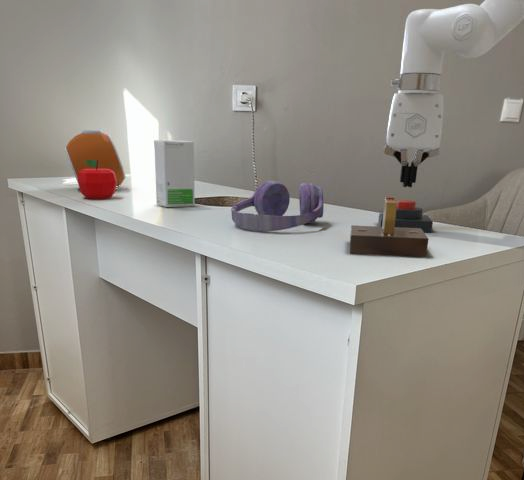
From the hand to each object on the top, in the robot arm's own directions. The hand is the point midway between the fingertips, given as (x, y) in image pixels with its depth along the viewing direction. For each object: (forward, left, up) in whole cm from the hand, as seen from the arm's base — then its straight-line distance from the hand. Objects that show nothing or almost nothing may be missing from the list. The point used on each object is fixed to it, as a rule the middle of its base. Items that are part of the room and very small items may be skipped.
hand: (407, 186), depth 112 cm
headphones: (+26, +3, -9) cm, 27 cm away
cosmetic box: (+55, -21, -9) cm, 59 cm away
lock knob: (+5, +24, -5) cm, 25 cm away
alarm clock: (+90, -53, -9) cm, 105 cm away
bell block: (0, 0, -8) cm, 8 cm away
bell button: (0, 0, -5) cm, 5 cm away
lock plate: (+5, +24, -8) cm, 26 cm away
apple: (+80, -31, -9) cm, 86 cm away
